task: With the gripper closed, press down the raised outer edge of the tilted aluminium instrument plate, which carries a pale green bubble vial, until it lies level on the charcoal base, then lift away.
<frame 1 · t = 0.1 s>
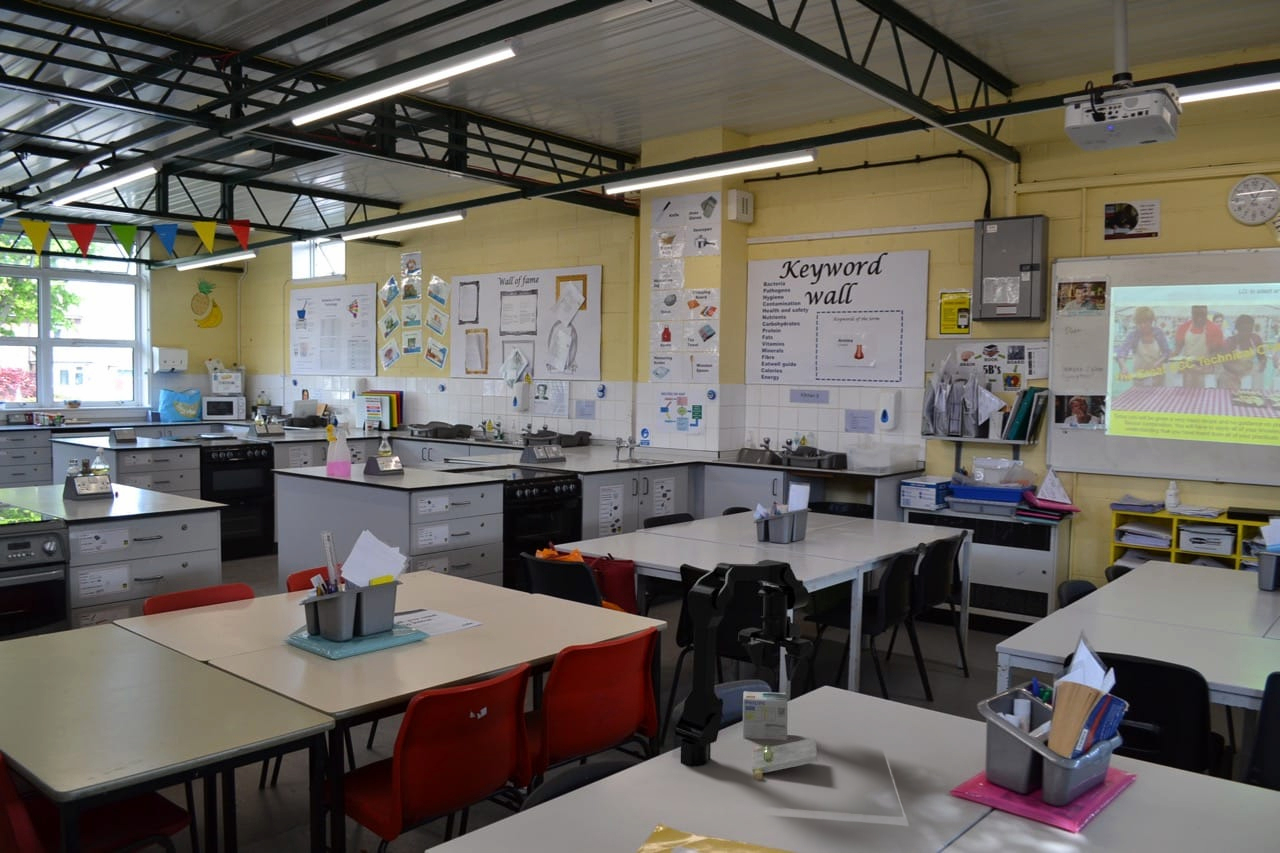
hand: (774, 676, 221), 15 cm above the table, tool pointing down, fingers open, 9 cm apart
tribrach base: (786, 773, 199), on the table
level plate: (783, 752, 199), point 5 cm above the table, hinge at 16.0°
light bulb box: (764, 740, 219), on the table
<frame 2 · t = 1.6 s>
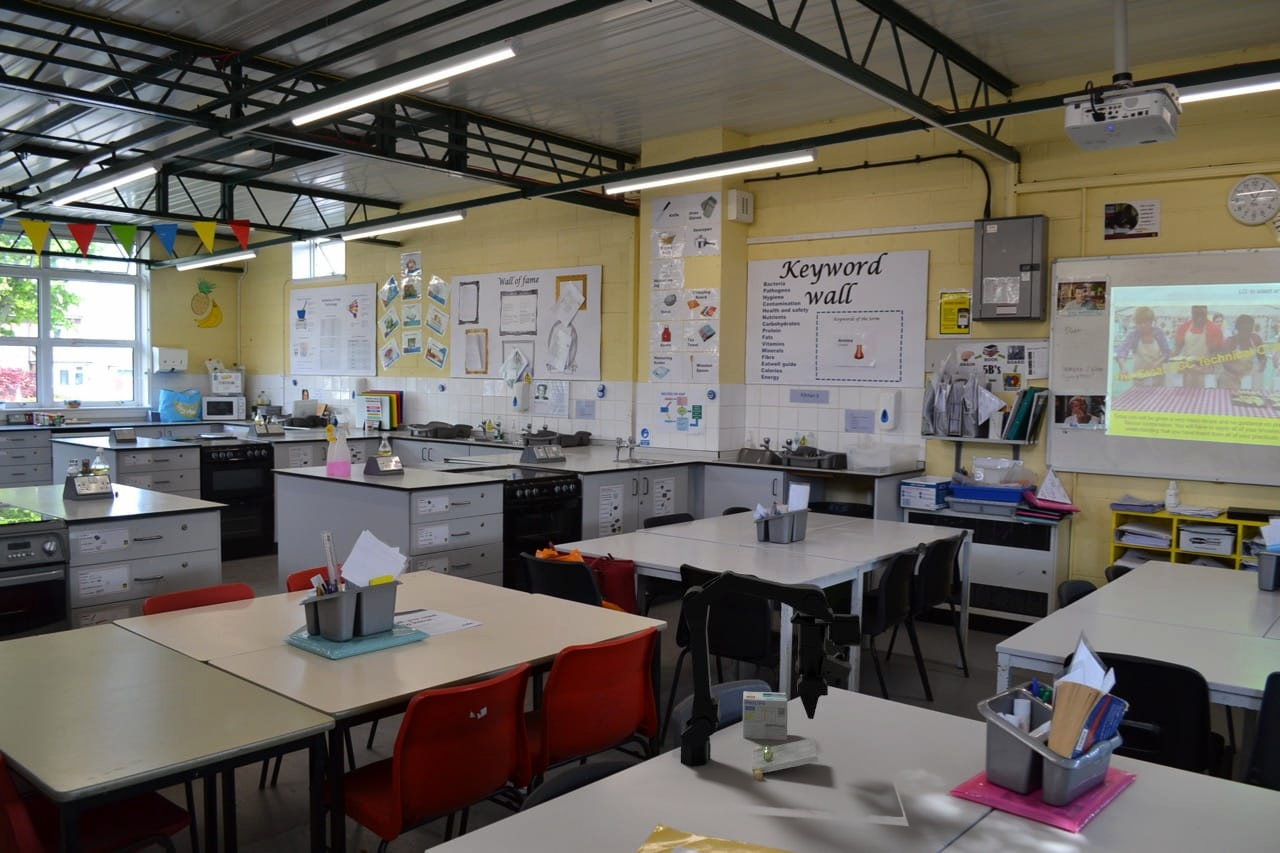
hand: (810, 715, 198), 13 cm above the table, tool pointing down, fingers open, 4 cm apart
nothing on the table moved.
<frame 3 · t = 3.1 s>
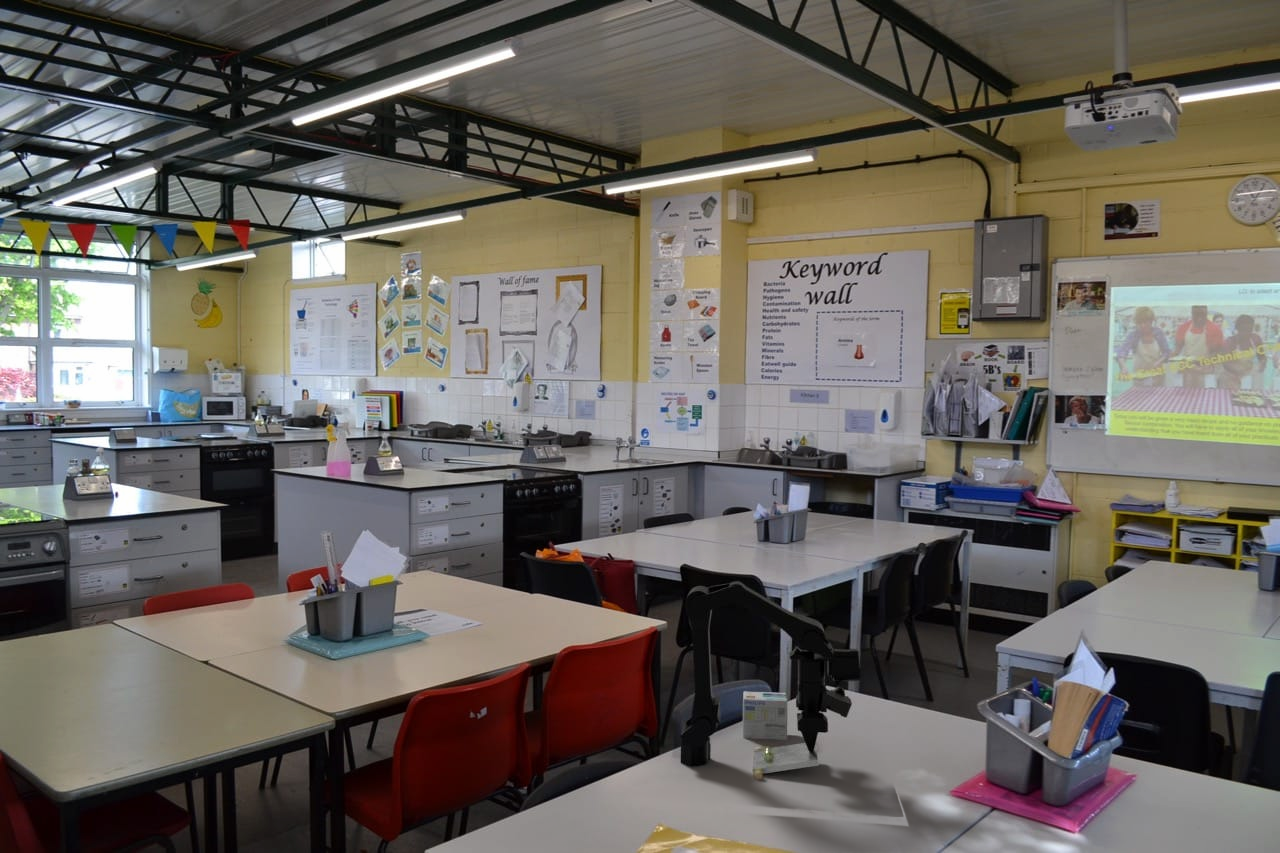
hand: (811, 750, 198), 5 cm above the table, tool pointing down, fingers closed, pressing on level plate
level plate: (784, 754, 199), point 4 cm above the table, hinge at 12.6°, touching gripper
everything else where it was.
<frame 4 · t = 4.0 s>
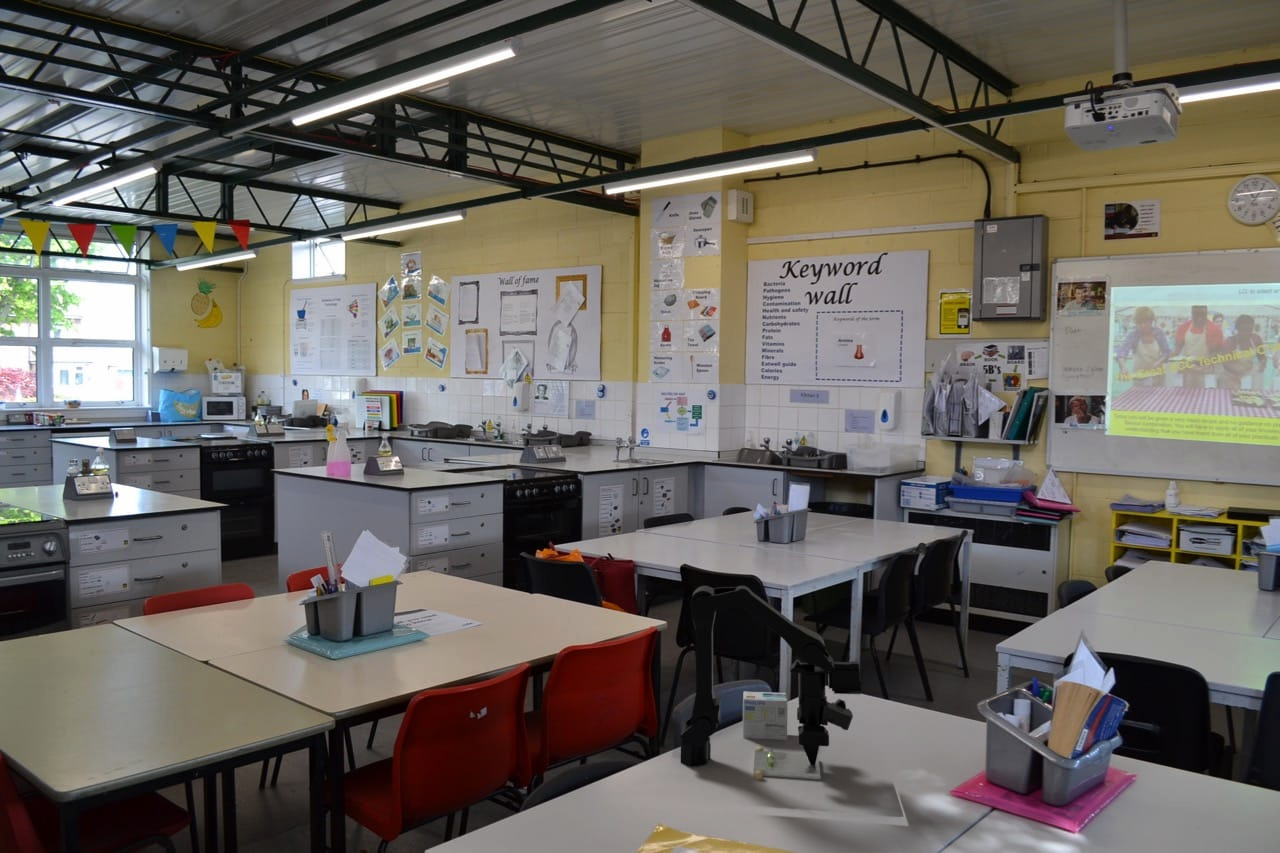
hand: (812, 763, 198), 2 cm above the table, tool pointing down, fingers closed, pressing on level plate
level plate: (786, 760, 199), point 3 cm above the table, hinge at 0.0°, touching gripper
everything else where it was.
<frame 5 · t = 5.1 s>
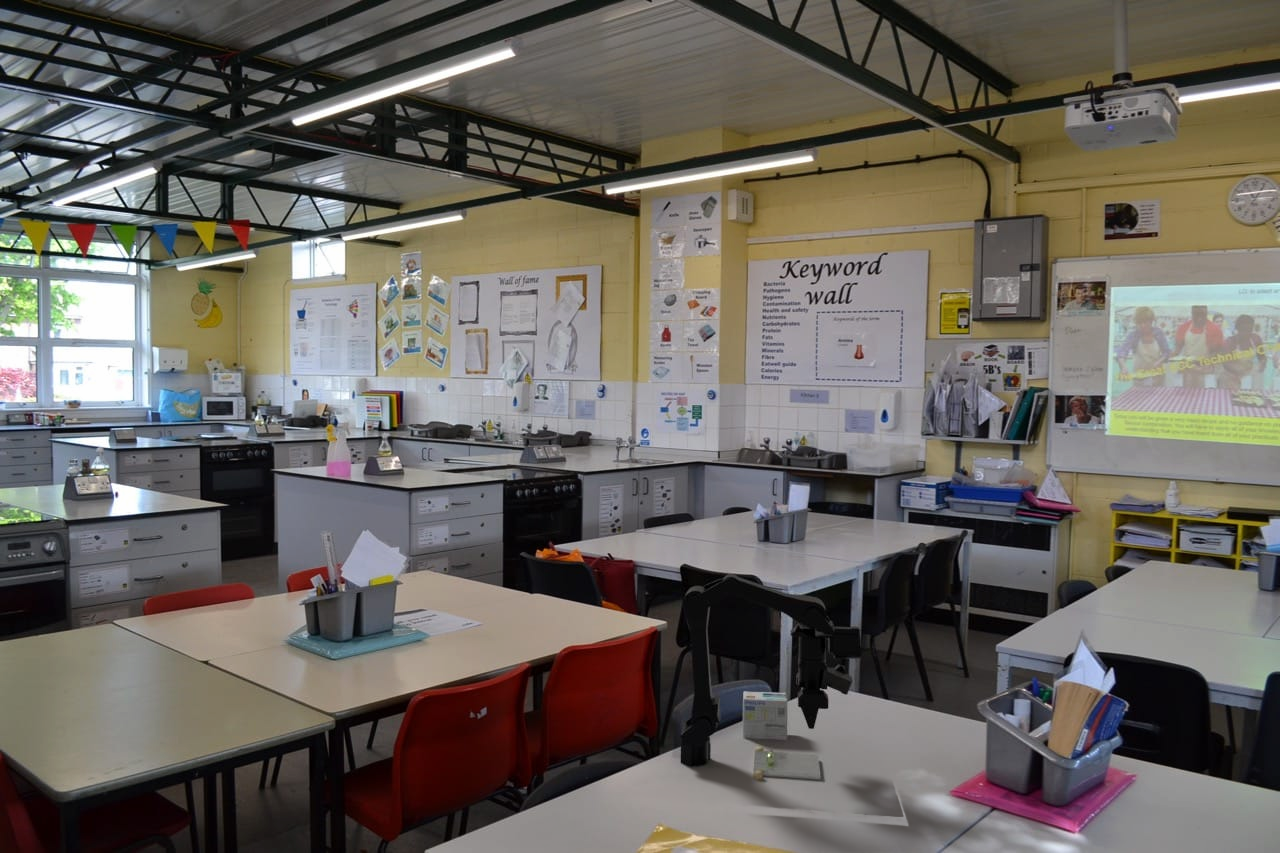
hand: (811, 728, 198), 10 cm above the table, tool pointing down, fingers closed
level plate: (786, 761, 199), point 3 cm above the table, hinge at -0.1°
everything else where it was.
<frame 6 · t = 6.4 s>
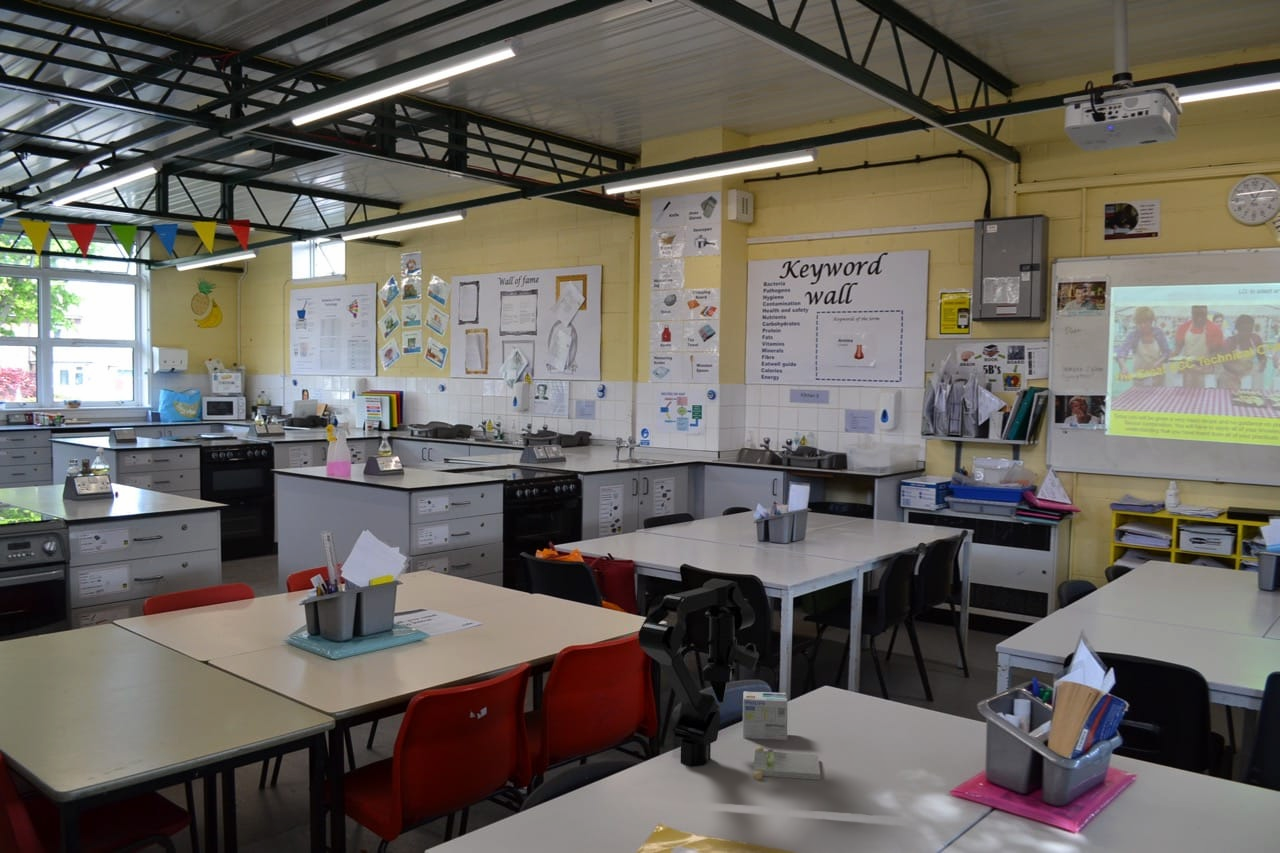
hand: (720, 701, 210), 12 cm above the table, tool pointing down, fingers closed
nothing on the table moved.
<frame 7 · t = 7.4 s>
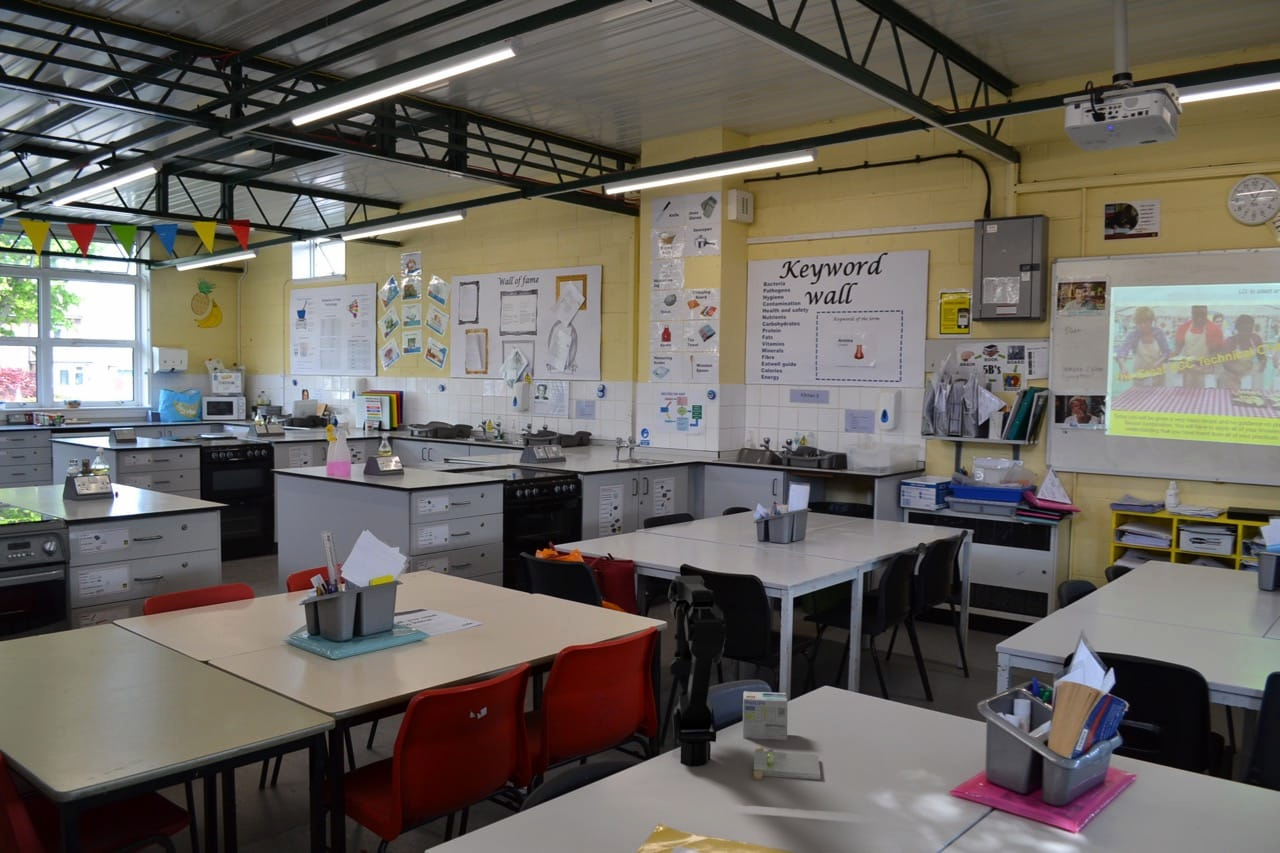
hand: (687, 695, 214), 12 cm above the table, tool pointing down, fingers closed
nothing on the table moved.
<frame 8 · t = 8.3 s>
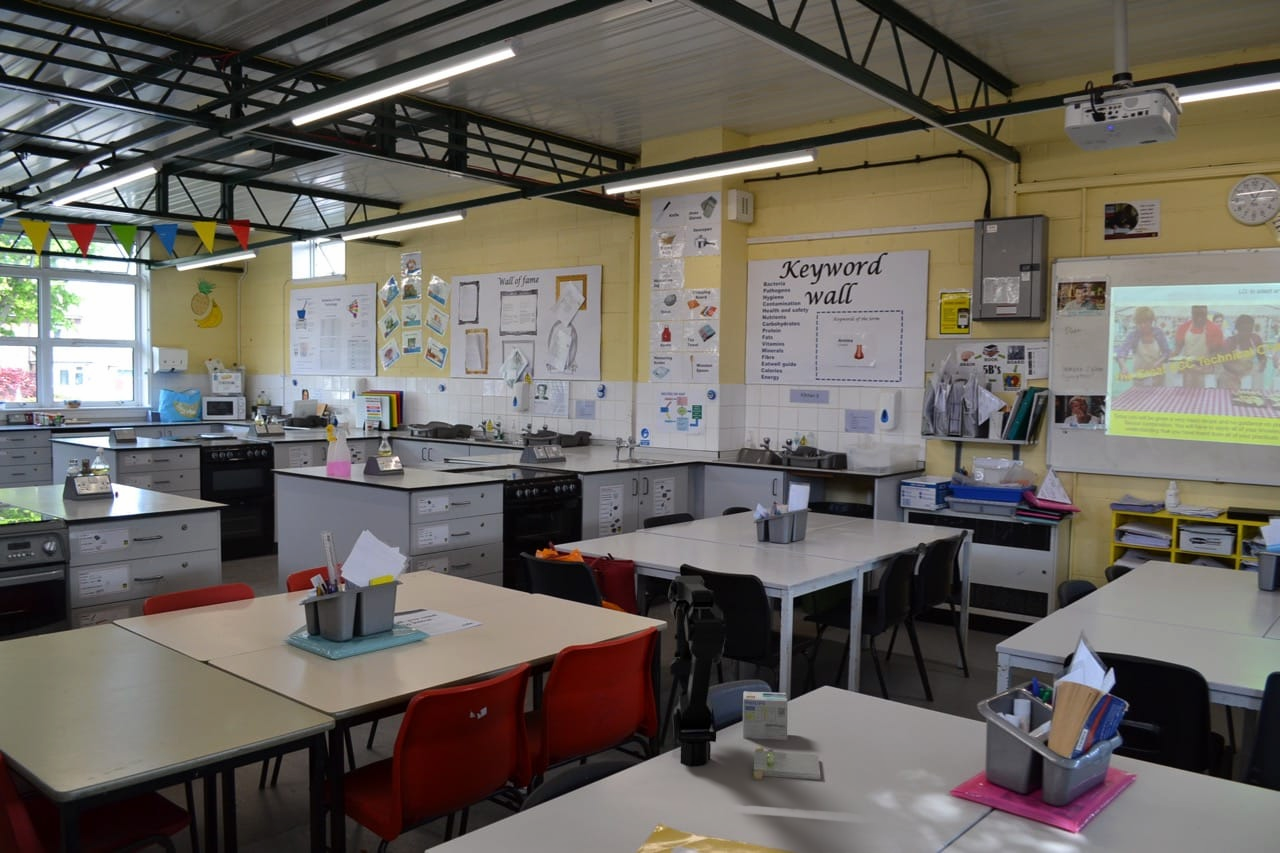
hand: (687, 695, 214), 12 cm above the table, tool pointing down, fingers closed
nothing on the table moved.
at the end: level plate at +0° (first picture: +16°); light bulb box moved 0.3 cm from its start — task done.
